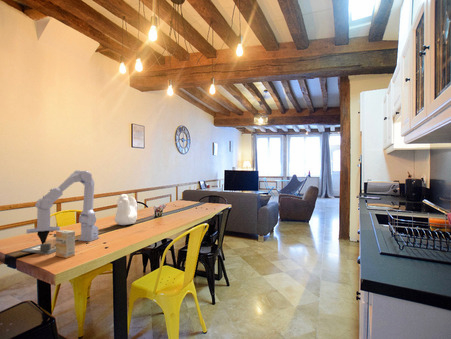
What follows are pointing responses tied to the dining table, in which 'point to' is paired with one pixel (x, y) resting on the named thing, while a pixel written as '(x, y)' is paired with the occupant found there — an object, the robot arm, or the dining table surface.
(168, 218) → the dining table surface
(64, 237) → the supplement box
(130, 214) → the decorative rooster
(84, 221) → the robot arm
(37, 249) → the label plate
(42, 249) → the tan wooden bar
